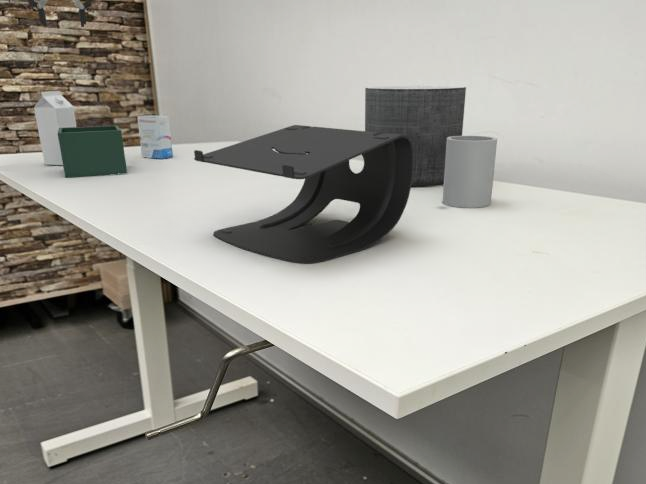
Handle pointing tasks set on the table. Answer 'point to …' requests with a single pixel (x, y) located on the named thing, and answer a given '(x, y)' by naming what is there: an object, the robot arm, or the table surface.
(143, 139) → the ink box
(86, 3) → the robot arm
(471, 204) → the cup
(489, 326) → the table surface
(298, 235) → the laptop stand
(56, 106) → the milk carton
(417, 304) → the table surface
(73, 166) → the bin
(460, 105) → the planter
